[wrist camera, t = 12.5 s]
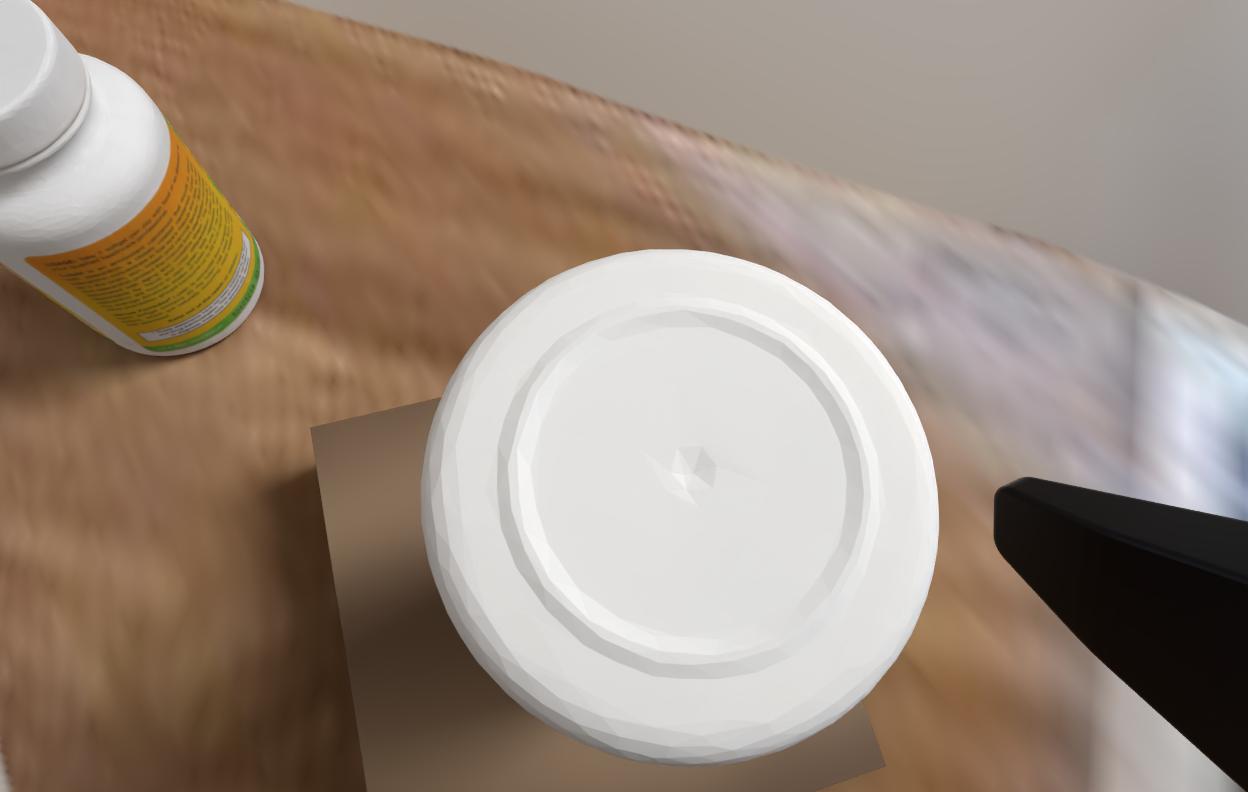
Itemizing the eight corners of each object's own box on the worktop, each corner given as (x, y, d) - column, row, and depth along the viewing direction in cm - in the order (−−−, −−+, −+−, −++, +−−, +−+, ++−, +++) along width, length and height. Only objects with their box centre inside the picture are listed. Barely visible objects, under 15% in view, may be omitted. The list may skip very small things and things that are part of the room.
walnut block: (841, 750, 21) (886, 766, 18) (415, 895, 19) (389, 939, 16) (711, 367, 24) (731, 330, 21) (341, 456, 22) (310, 427, 19)
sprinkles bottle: (600, 729, 18) (709, 936, 5) (473, 591, 18) (285, 466, 6) (725, 590, 19) (1063, 473, 6) (601, 467, 20) (679, 143, 7)
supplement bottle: (294, 233, 25) (137, -13, 15) (229, 378, 23) (7, 196, 14) (138, 195, 25) (-111, -74, 15) (61, 337, 23) (-273, 127, 14)
